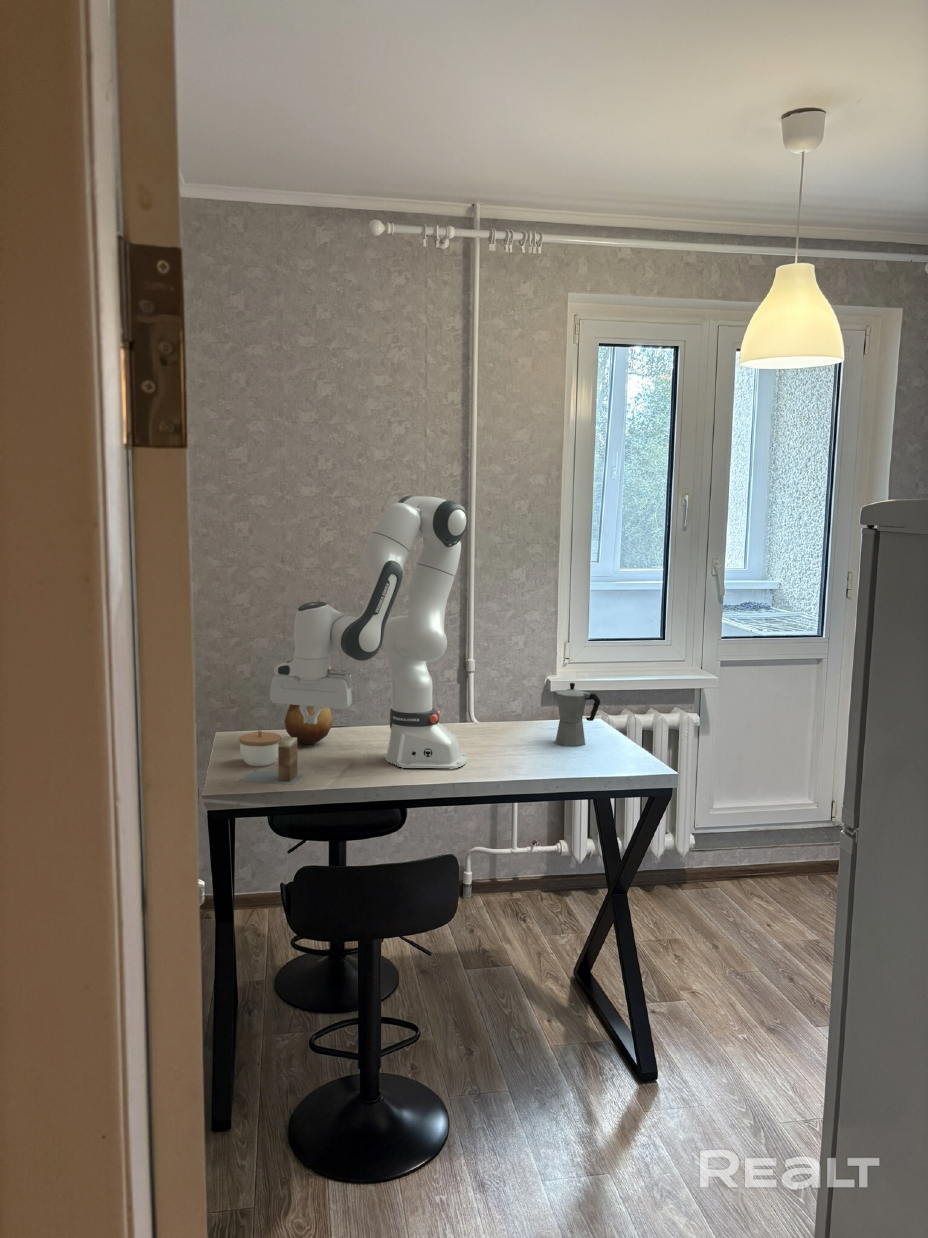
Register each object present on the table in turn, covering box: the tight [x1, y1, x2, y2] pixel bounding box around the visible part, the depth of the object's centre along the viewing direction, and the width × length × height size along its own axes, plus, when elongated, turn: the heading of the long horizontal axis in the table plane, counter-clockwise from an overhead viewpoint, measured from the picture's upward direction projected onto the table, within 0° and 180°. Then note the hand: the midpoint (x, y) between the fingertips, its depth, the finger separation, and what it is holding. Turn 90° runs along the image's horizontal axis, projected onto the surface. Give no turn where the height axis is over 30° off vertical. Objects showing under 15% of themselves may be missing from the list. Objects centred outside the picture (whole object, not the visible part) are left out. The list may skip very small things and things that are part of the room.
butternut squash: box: [283, 665, 333, 745], centre depth 269 cm, size 14×13×25 cm
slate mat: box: [238, 769, 307, 786], centre depth 234 cm, size 14×9×1 cm, turn 79°
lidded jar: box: [238, 730, 282, 767], centre depth 247 cm, size 11×11×9 cm
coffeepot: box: [550, 682, 601, 747], centre depth 274 cm, size 15×9×18 cm, turn 61°
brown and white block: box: [277, 736, 298, 782], centre depth 233 cm, size 3×5×10 cm, turn 169°
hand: (310, 723), depth 230 cm, fingers closed
